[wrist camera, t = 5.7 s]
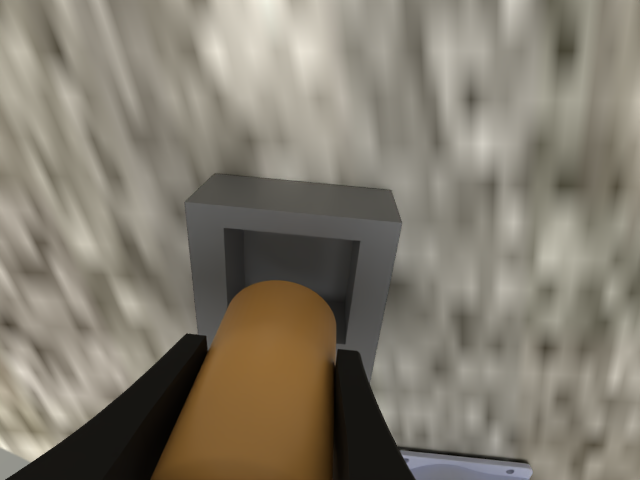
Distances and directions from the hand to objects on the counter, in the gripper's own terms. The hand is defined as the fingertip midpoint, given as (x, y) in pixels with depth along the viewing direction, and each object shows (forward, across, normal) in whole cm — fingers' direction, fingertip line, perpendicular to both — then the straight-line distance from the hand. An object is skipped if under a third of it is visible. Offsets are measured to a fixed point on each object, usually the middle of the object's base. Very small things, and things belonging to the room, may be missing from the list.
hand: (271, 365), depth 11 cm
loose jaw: (+2, 0, 0) cm, 2 cm away
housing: (+8, 0, +4) cm, 8 cm away
